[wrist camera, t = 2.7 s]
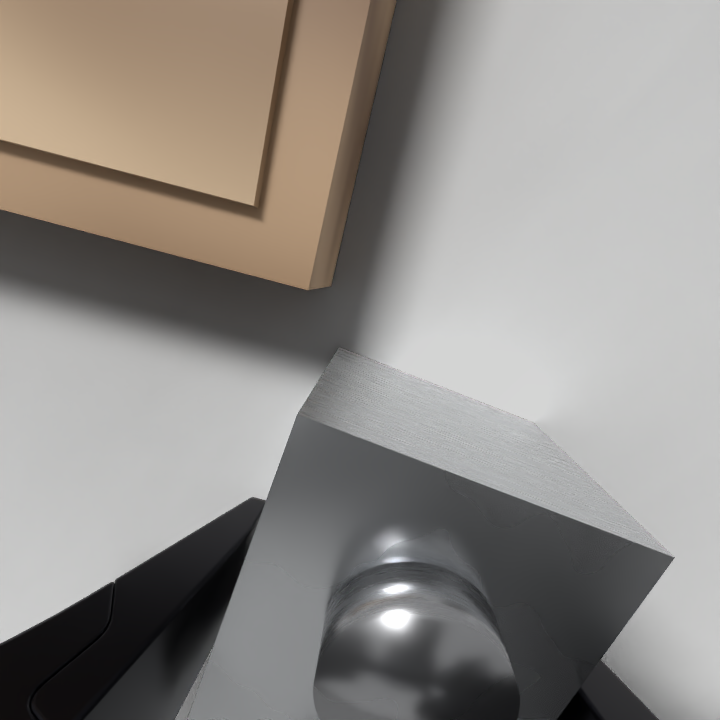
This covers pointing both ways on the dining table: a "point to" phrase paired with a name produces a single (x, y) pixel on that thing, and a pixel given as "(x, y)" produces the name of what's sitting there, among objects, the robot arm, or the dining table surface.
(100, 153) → the tan shallow rectangular tray
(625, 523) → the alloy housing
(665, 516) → the dining table surface
